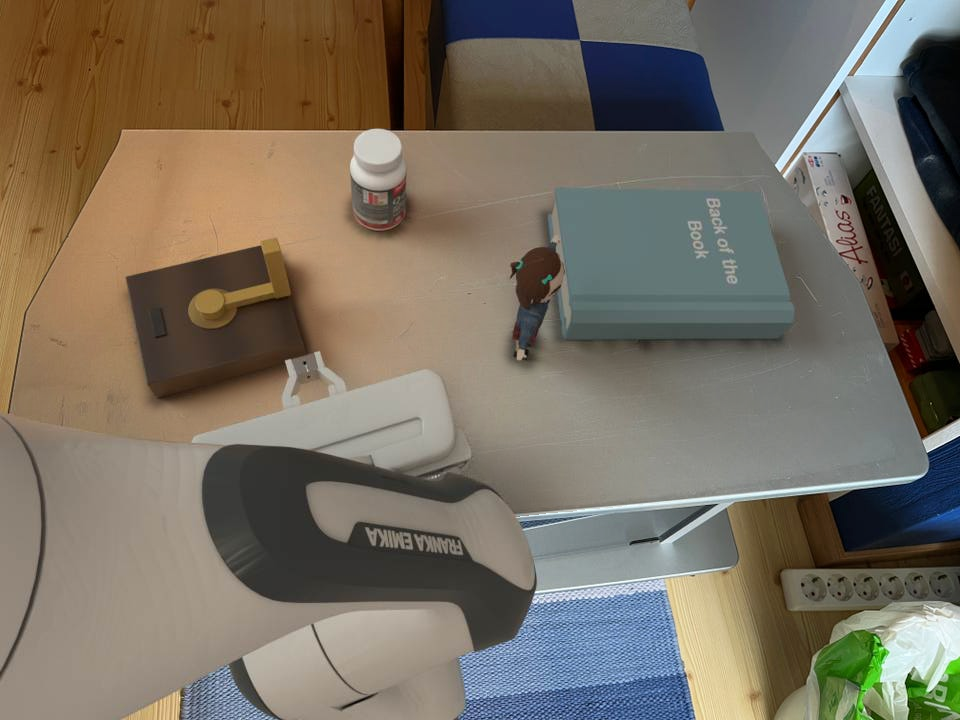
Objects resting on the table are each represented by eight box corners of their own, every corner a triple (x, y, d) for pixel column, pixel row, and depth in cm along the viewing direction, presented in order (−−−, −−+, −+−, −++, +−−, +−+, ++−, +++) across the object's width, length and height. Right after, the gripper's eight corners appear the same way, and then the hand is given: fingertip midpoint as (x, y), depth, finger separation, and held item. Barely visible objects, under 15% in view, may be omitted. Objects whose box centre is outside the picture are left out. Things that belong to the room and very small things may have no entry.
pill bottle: (405, 234, 80) (406, 170, 71) (351, 231, 79) (346, 167, 71) (406, 192, 83) (407, 126, 74) (354, 189, 82) (349, 122, 73)
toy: (520, 412, 71) (548, 336, 58) (473, 398, 72) (491, 318, 58) (553, 297, 78) (586, 204, 65) (510, 284, 78) (534, 189, 65)
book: (740, 220, 86) (759, 191, 81) (774, 342, 78) (797, 318, 74) (547, 217, 83) (555, 187, 78) (563, 343, 75) (574, 318, 71)
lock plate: (156, 398, 68) (146, 383, 66) (134, 293, 73) (124, 275, 70) (306, 357, 72) (302, 341, 69) (276, 259, 77) (271, 241, 74)
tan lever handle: (201, 323, 69) (181, 279, 62) (195, 300, 70) (175, 254, 64) (292, 299, 71) (282, 255, 65) (286, 278, 72) (275, 231, 66)
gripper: (484, 457, 55) (424, 306, 61) (203, 549, 50) (165, 375, 56) (476, 484, 61) (422, 343, 66) (222, 569, 56) (186, 409, 61)
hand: (303, 358), depth 61 cm, fingers closed
